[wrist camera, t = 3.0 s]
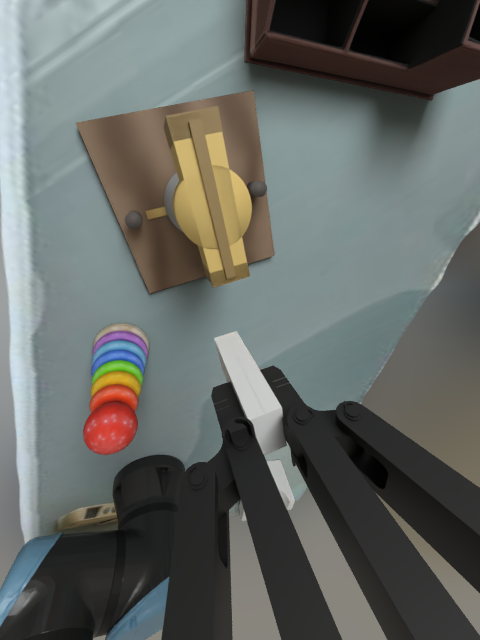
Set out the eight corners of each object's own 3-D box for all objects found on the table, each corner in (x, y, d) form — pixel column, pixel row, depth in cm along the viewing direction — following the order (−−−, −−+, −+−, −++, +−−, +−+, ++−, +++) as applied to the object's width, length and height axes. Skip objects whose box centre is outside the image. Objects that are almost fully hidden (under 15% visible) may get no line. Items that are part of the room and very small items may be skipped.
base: (149, 291, 37) (149, 315, 30) (78, 124, 26) (51, 102, 20) (271, 254, 40) (296, 268, 33) (250, 93, 30) (280, 64, 23)
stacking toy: (95, 364, 40) (58, 480, 24) (93, 319, 36) (48, 421, 21) (148, 363, 42) (145, 467, 27) (150, 322, 39) (149, 413, 23)
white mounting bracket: (245, 464, 66) (255, 507, 57) (280, 459, 69) (294, 500, 60) (238, 502, 74) (245, 545, 65) (268, 497, 76) (280, 538, 67)
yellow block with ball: (248, 261, 30) (263, 273, 26) (194, 278, 29) (200, 292, 25) (222, 116, 23) (236, 101, 19) (147, 131, 22) (146, 118, 18)
